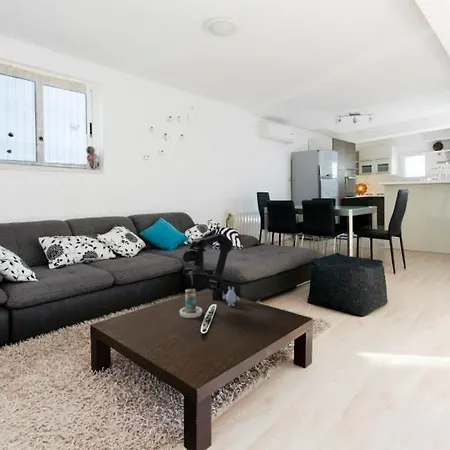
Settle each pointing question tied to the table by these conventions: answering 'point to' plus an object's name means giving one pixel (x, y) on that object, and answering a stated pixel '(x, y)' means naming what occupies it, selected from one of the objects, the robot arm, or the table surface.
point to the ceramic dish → (194, 315)
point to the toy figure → (231, 297)
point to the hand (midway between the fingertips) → (199, 284)
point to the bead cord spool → (190, 301)
